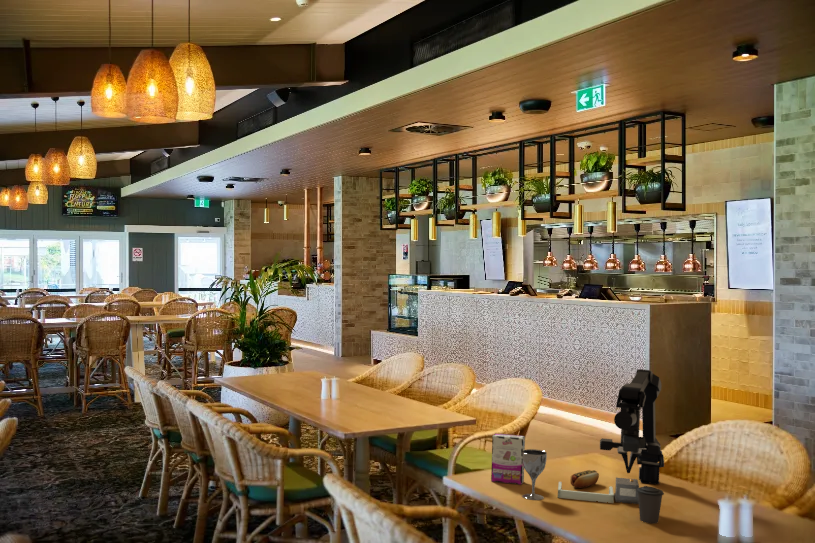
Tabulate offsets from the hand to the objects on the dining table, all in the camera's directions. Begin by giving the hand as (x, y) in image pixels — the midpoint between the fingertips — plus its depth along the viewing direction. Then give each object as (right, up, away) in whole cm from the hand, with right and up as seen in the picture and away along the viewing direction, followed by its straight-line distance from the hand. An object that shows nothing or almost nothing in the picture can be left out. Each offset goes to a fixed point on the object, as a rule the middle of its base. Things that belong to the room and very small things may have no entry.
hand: (628, 472), depth 254 cm
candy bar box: (-37, -9, +23) cm, 44 cm away
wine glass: (-30, -10, +5) cm, 32 cm away
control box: (+1, -11, +6) cm, 12 cm away
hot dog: (-9, -10, +21) cm, 25 cm away
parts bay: (-12, -10, +9) cm, 18 cm away
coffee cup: (+2, -11, -15) cm, 19 cm away
